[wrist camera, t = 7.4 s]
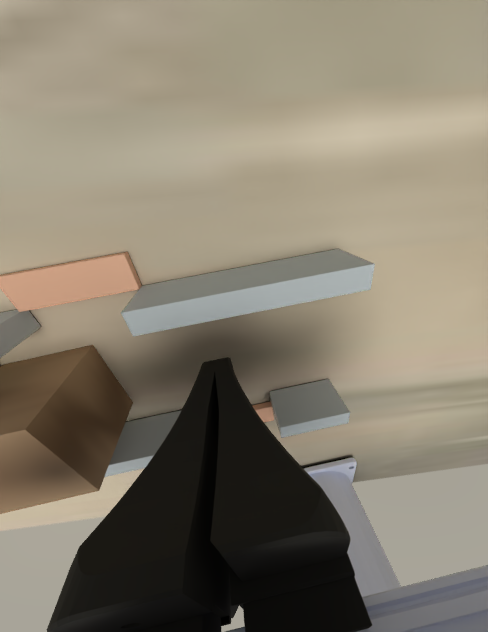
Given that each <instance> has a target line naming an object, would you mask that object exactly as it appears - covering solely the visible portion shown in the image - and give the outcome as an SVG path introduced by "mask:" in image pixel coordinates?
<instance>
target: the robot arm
mask: <svg viewBox="0 0 488 632" xmlns="http://www.w3.org/2000/svg"><path fill="white" fill-rule="evenodd" d="M356 465H357V462H356V460H355V458H347V459H343V460H338V461H334V462H330V463H325V464H321V465H316V466H312V467H308V468H302V467H301V466H300V465H299V464H298V463H297V462H296V460H295V459H294V458H293V457H292V456H291V455H290V454H289V453H288V452H287V451H286V449H285V448H284V447H283V446H282V445H281V443H280V442H279V441H278V440H277V439H276V437H275V436H274V435H273V434H272V433H271V431H270V430H269V429H268V427H267V426H266V425H265V424H264V422H263V421H262V419H261V418H260V417H259V415H258V414H257V412H256V411H255V409H254V408H253V406H252V405H251V403H250V402H249V400H248V398H247V397H246V395H245V393H244V392H243V390H242V388H241V386H240V384H239V382H238V380H237V378H236V376H235V373H234V370H233V366H232V362H231V359H230V358H228V357H227V358H222V359H217V360H213V361H208V362H204V363H203V364H202V366H201V369H200V372H199V374H198V377H197V379H196V381H195V384H194V386H193V388H192V390H191V393H190V395H189V397H188V399H187V401H186V403H185V405H184V407H183V409H182V411H181V413H180V414H179V416H178V418H177V420H176V422H175V423H174V425H173V427H172V429H171V430H170V432H169V433H168V435H167V437H166V438H165V440H164V441H163V443H162V444H161V446H160V447H159V449H158V450H157V452H156V453H155V455H154V456H153V458H152V459H151V460H150V462H149V463H148V465H147V466H146V467H145V469H144V470H143V471H142V473H141V474H140V475H139V477H138V478H137V479H136V480H135V482H134V483H133V484H132V486H131V487H130V488H129V489H128V491H127V492H126V493H125V495H124V496H123V497H122V498H121V500H120V501H119V502H118V503H117V504H116V506H115V507H114V508H113V509H112V510H111V511H110V513H109V514H108V515H107V516H106V517H105V519H104V520H103V521H102V522H101V523H100V524H99V525H98V526H97V528H96V529H95V530H94V531H93V532H92V533H91V534H90V536H89V537H88V538H87V539H86V540H85V541H84V542H83V543H82V545H81V546H80V547H79V549H78V551H77V554H76V556H75V558H74V561H73V563H72V565H71V567H70V570H69V573H68V575H67V578H66V581H65V583H64V586H63V588H62V591H61V594H60V596H59V599H58V602H57V605H56V607H55V610H54V612H53V615H52V618H51V620H50V623H49V625H48V628H47V632H221V626H224V625H227V624H231V618H233V617H234V615H235V613H236V611H237V609H238V606H239V605H240V606H241V607H242V608H243V610H244V623H245V627H241V628H238V629H234V630H230V631H226V632H488V565H486V566H482V567H478V568H474V569H470V570H466V571H462V572H458V573H454V574H450V575H447V576H443V577H439V578H435V579H431V580H427V581H423V582H419V583H415V584H411V585H407V586H403V587H401V585H400V583H399V581H398V579H397V577H396V575H395V573H394V571H393V569H392V567H391V565H390V563H389V560H388V558H387V556H386V554H385V552H384V550H383V548H382V546H381V544H380V542H379V540H378V538H377V536H376V534H375V531H374V529H373V527H372V525H371V523H370V521H369V519H368V517H367V515H366V513H365V511H364V509H363V507H362V505H361V502H360V500H359V498H358V496H357V494H356V492H355V490H354V488H353V486H352V482H353V478H354V474H355V469H356Z"/></svg>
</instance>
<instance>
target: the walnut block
mask: <svg viewBox="0 0 488 632" xmlns="http://www.w3.org/2000/svg"><path fill="white" fill-rule="evenodd" d="M132 404H133V402H132V401H131V399H130V398H129V396H128V395H127V393H126V392H125V391H124V389H123V388H122V386H121V385H120V383H119V382H118V380H117V379H116V378H115V376H114V375H113V373H112V372H111V370H110V369H109V367H108V366H107V364H106V363H105V362H104V360H103V359H102V357H101V356H100V354H99V353H98V351H97V350H96V349H95V347H94V346H93V345H90V346H86V347H81V348H77V349H72V350H68V351H63V352H59V353H54V354H50V355H45V356H41V357H36V358H32V359H27V360H23V361H18V362H14V363H9V364H5V365H2V366H0V514H2V513H6V512H10V511H15V510H19V509H23V508H27V507H32V506H36V505H40V504H44V503H49V502H53V501H57V500H61V499H66V498H70V497H74V496H78V495H83V494H87V493H91V492H95V491H99V489H100V487H101V484H102V482H103V479H104V476H105V474H106V471H107V469H108V466H109V463H110V461H111V458H112V456H113V453H114V450H115V448H116V445H117V443H118V440H119V437H120V435H121V432H122V430H123V427H124V424H125V422H126V419H127V417H128V414H129V411H130V409H131V406H132Z"/></svg>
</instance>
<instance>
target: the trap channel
mask: <svg viewBox="0 0 488 632" xmlns="http://www.w3.org/2000/svg"><path fill="white" fill-rule="evenodd" d="M374 265H375V264H374V263H371V262H369V261H367V260H364V259H362V258H360V257H357V256H355V255H352V254H350V253H348V252H345V251H343V250H340V249H334V250H329V251H324V252H318V253H313V254H308V255H303V256H297V257H292V258H287V259H281V260H276V261H271V262H266V263H260V264H255V265H250V266H244V267H239V268H234V269H229V270H223V271H218V272H213V273H207V274H202V275H197V276H191V277H186V278H181V279H176V280H170V281H165V282H160V283H154V284H149V285H144V286H142V285H141V282H140V280H139V278H138V275H137V273H136V271H135V268H134V266H133V264H132V261H131V259H130V256H129V254H128V252H123V253H118V254H113V255H107V256H102V257H96V258H91V259H85V260H80V261H74V262H69V263H63V264H58V265H52V266H47V267H41V268H36V269H30V270H25V271H19V272H14V273H9V274H3V275H0V288H1V290H2V291H3V292H4V293H5V295H6V296H7V297H8V298H9V300H10V301H11V302H12V303H13V305H14V306H15V307H16V308H17V310H12V311H6V312H1V313H0V358H1V357H2V356H4V355H5V354H6V353H8V352H9V351H10V350H12V349H13V348H14V347H15V346H17V345H18V344H19V343H21V342H22V341H23V340H25V339H26V338H27V337H28V336H30V335H31V334H32V333H34V332H35V331H36V330H38V329H39V328H40V327H41V326H40V325H39V323H38V322H37V321H36V319H35V318H34V317H33V315H32V314H31V313H30V311H29V310H33V309H38V308H43V307H49V306H54V305H59V304H65V303H70V302H75V301H80V300H86V299H91V298H96V297H101V296H107V295H112V294H117V293H123V292H128V291H133V290H138V289H139V290H138V292H137V293H136V294H135V296H134V297H133V298H132V299H131V301H130V302H129V303H128V305H127V306H126V307H125V308H124V310H123V311H122V312H121V314H122V316H123V318H124V320H125V322H126V324H127V325H128V327H129V329H130V331H131V333H132V335H133V336H138V335H143V334H148V333H153V332H158V331H163V330H168V329H174V328H179V327H184V326H189V325H194V324H199V323H204V322H209V321H214V320H219V319H224V318H229V317H234V316H239V315H244V314H249V313H254V312H260V311H265V310H270V309H275V308H280V307H285V306H290V305H295V304H300V303H305V302H310V301H315V300H320V299H325V298H330V297H335V296H340V295H346V294H351V293H356V292H361V291H366V290H370V289H371V283H372V277H373V271H374ZM270 399H271V402H266V403H261V404H257V405H252V406H253V408H254V409H255V411H256V412H257V414H258V415H259V417H260V418H261V419H262V421H263V422H268V421H273V420H274V416H273V411H274V414H275V418H276V421H277V425H278V428H279V432H280V435H281V438H283V437H287V436H292V435H296V434H301V433H305V432H310V431H314V430H319V429H324V428H328V427H333V426H337V425H342V424H346V423H348V422H349V416H350V412H349V410H348V408H347V407H346V405H345V404H344V402H343V401H342V399H341V397H340V396H339V394H338V393H337V391H336V390H335V388H334V386H333V385H332V383H331V382H330V380H329V379H326V380H321V381H317V382H312V383H307V384H303V385H298V386H293V387H289V388H284V389H279V390H274V391H270ZM272 407H273V408H272ZM181 411H182V410H180V411H176V412H171V413H166V414H161V415H157V416H152V417H147V418H143V419H138V420H133V421H128V422H125V424H124V427H123V430H122V432H121V435H120V437H119V440H118V443H117V445H116V448H115V450H114V453H113V456H112V458H111V461H110V463H109V466H108V469H107V471H106V474H105V476H104V477H106V476H111V475H116V474H120V473H125V472H129V471H134V470H138V469H143V468H145V467H146V466H147V465H148V463H149V462H150V460H151V459H152V458H153V456H154V455H155V453H156V452H157V450H158V449H159V447H160V446H161V444H162V443H163V441H164V440H165V438H166V437H167V435H168V433H169V432H170V430H171V429H172V427H173V425H174V423H175V422H176V420H177V418H178V416H179V414H180V413H181Z"/></svg>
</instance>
